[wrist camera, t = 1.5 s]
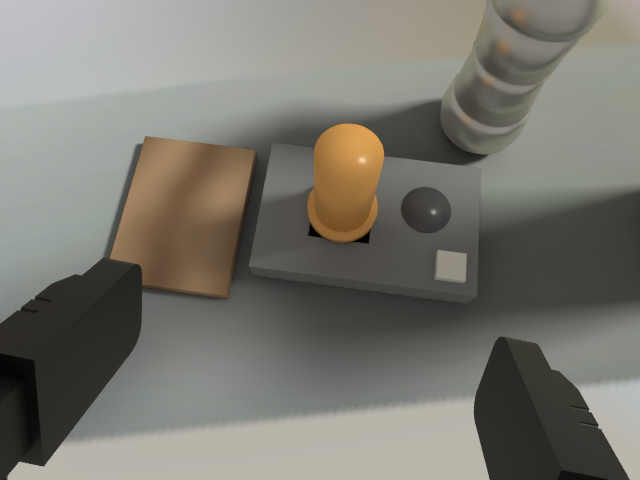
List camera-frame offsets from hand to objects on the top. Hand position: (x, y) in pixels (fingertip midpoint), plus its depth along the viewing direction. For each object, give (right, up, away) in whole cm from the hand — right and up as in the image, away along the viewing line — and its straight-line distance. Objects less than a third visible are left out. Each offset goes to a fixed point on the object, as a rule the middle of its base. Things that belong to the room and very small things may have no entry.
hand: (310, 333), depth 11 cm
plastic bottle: (+13, +11, +30) cm, 35 cm away
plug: (+2, +3, +27) cm, 27 cm away
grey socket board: (+4, +3, +27) cm, 28 cm away
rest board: (-10, +4, +27) cm, 29 cm away
